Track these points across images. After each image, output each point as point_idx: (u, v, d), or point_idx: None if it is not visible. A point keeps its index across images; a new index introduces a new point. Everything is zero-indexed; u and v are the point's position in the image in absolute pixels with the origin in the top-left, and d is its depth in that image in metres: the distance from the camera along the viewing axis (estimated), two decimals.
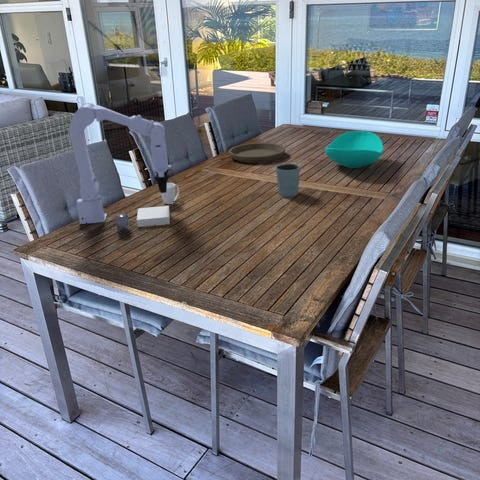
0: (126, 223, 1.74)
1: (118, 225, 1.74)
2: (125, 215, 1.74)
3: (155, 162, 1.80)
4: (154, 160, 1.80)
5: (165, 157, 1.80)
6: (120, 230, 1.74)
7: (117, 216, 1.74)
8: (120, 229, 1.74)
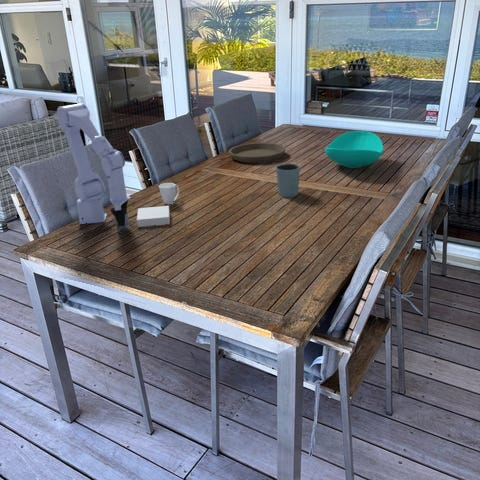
0: (126, 223, 1.74)
1: (118, 225, 1.74)
2: (125, 215, 1.74)
3: (112, 194, 1.68)
4: (111, 192, 1.68)
5: (122, 188, 1.68)
6: (120, 230, 1.74)
7: None
8: (120, 229, 1.74)
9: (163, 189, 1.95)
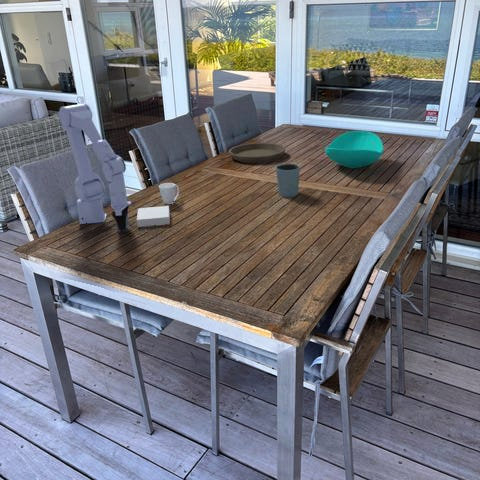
0: (126, 223, 1.74)
1: None
2: None
3: (113, 199, 1.69)
4: (112, 197, 1.69)
5: (123, 194, 1.69)
6: (120, 230, 1.74)
7: None
8: None
9: (163, 189, 1.95)
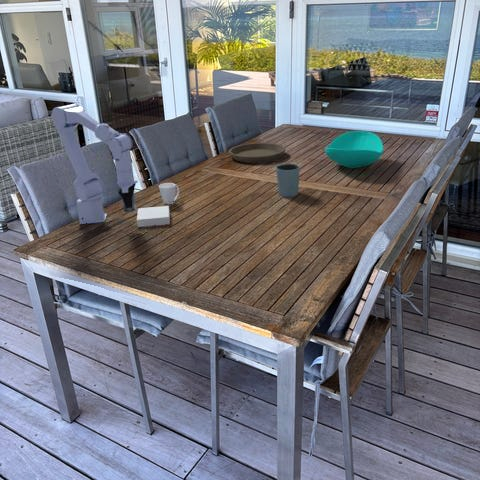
0: (133, 202, 1.74)
1: None
2: None
3: (119, 177, 1.68)
4: (118, 174, 1.68)
5: (130, 171, 1.69)
6: (127, 209, 1.74)
7: None
8: None
9: (163, 189, 1.95)
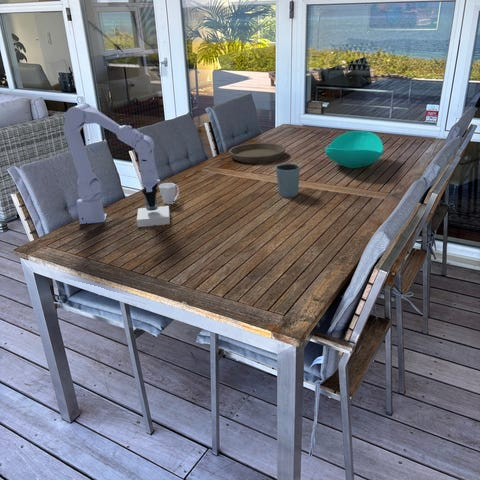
0: (155, 200, 1.81)
1: (147, 203, 1.80)
2: None
3: (143, 177, 1.75)
4: (142, 174, 1.75)
5: (153, 171, 1.76)
6: (149, 208, 1.81)
7: None
8: None
9: (163, 189, 1.95)
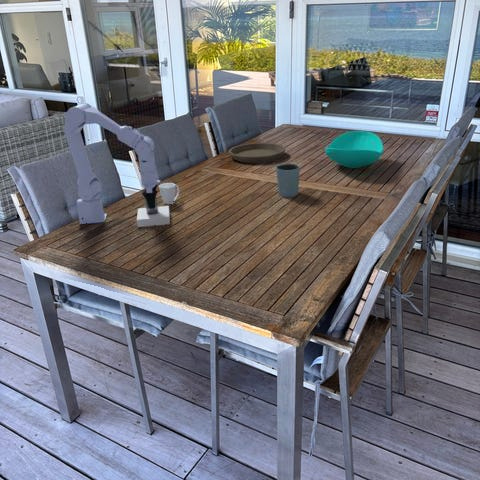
0: (156, 205, 1.82)
1: (148, 207, 1.81)
2: None
3: (143, 177, 1.76)
4: (142, 175, 1.75)
5: (153, 172, 1.76)
6: (150, 212, 1.82)
7: None
8: (150, 210, 1.81)
9: (163, 189, 1.95)
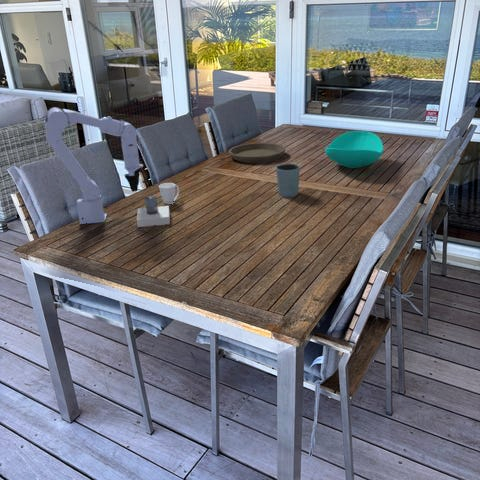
0: (155, 204, 1.82)
1: (148, 207, 1.81)
2: (154, 197, 1.82)
3: (126, 161, 1.83)
4: (125, 159, 1.83)
5: (136, 156, 1.83)
6: (150, 211, 1.82)
7: (146, 198, 1.81)
8: (150, 210, 1.81)
9: (163, 189, 1.95)
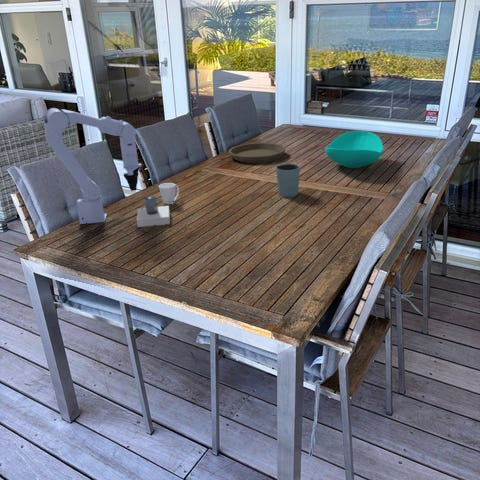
0: (155, 204, 1.82)
1: (148, 207, 1.81)
2: (153, 197, 1.82)
3: (125, 160, 1.84)
4: (124, 159, 1.84)
5: (135, 156, 1.84)
6: (150, 211, 1.82)
7: (146, 198, 1.81)
8: (150, 210, 1.81)
9: (163, 189, 1.95)
